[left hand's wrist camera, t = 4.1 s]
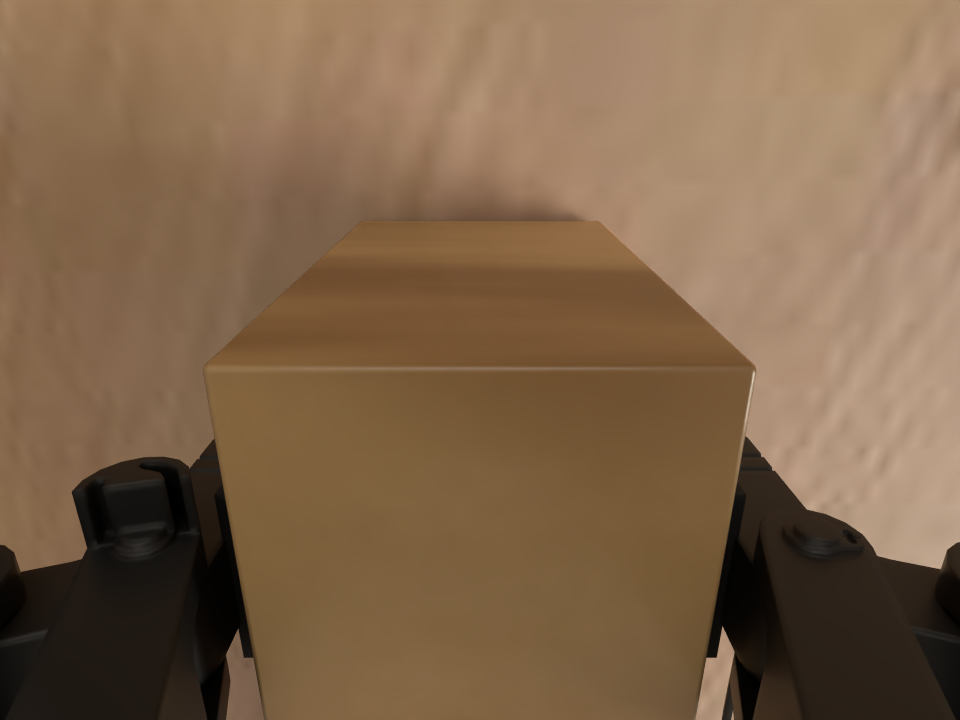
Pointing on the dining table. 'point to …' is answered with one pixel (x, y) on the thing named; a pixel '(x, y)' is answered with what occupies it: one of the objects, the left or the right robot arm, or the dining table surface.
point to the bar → (479, 478)
